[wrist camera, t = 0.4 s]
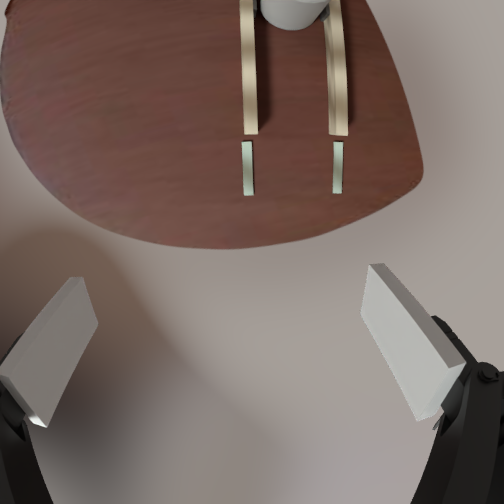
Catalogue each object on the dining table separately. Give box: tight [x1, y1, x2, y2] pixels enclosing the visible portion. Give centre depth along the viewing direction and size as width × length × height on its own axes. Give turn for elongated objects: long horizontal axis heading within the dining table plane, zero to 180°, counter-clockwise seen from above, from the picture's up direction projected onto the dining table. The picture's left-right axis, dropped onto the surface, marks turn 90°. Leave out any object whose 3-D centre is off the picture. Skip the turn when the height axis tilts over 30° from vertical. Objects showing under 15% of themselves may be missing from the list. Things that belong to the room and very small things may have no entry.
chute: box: [240, 0, 348, 195], centre depth 31 cm, size 30×13×3 cm, turn 2°
